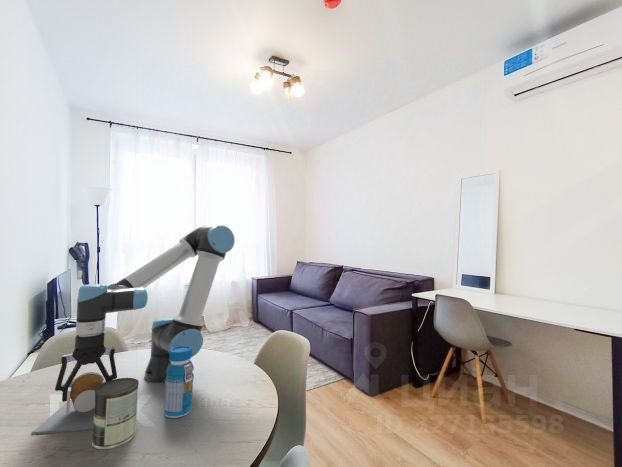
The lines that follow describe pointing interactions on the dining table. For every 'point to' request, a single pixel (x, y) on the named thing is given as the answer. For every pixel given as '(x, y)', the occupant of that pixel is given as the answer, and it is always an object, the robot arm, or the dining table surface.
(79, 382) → the disposable coffee cup
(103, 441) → the coffee can
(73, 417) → the mat
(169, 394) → the beverage bottle
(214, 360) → the dining table surface
